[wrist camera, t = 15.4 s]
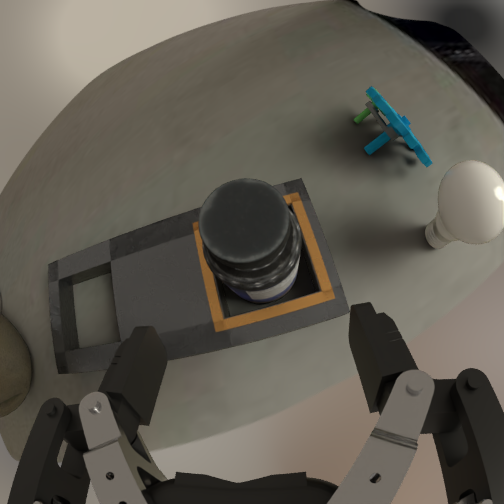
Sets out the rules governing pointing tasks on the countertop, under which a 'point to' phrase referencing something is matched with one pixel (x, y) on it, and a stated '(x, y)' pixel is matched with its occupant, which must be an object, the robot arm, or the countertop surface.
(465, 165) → the lightbulb
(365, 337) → the robot arm
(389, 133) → the blue branched piece
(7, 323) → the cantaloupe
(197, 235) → the grey rectangular tray
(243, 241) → the pill bottle
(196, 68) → the countertop surface
